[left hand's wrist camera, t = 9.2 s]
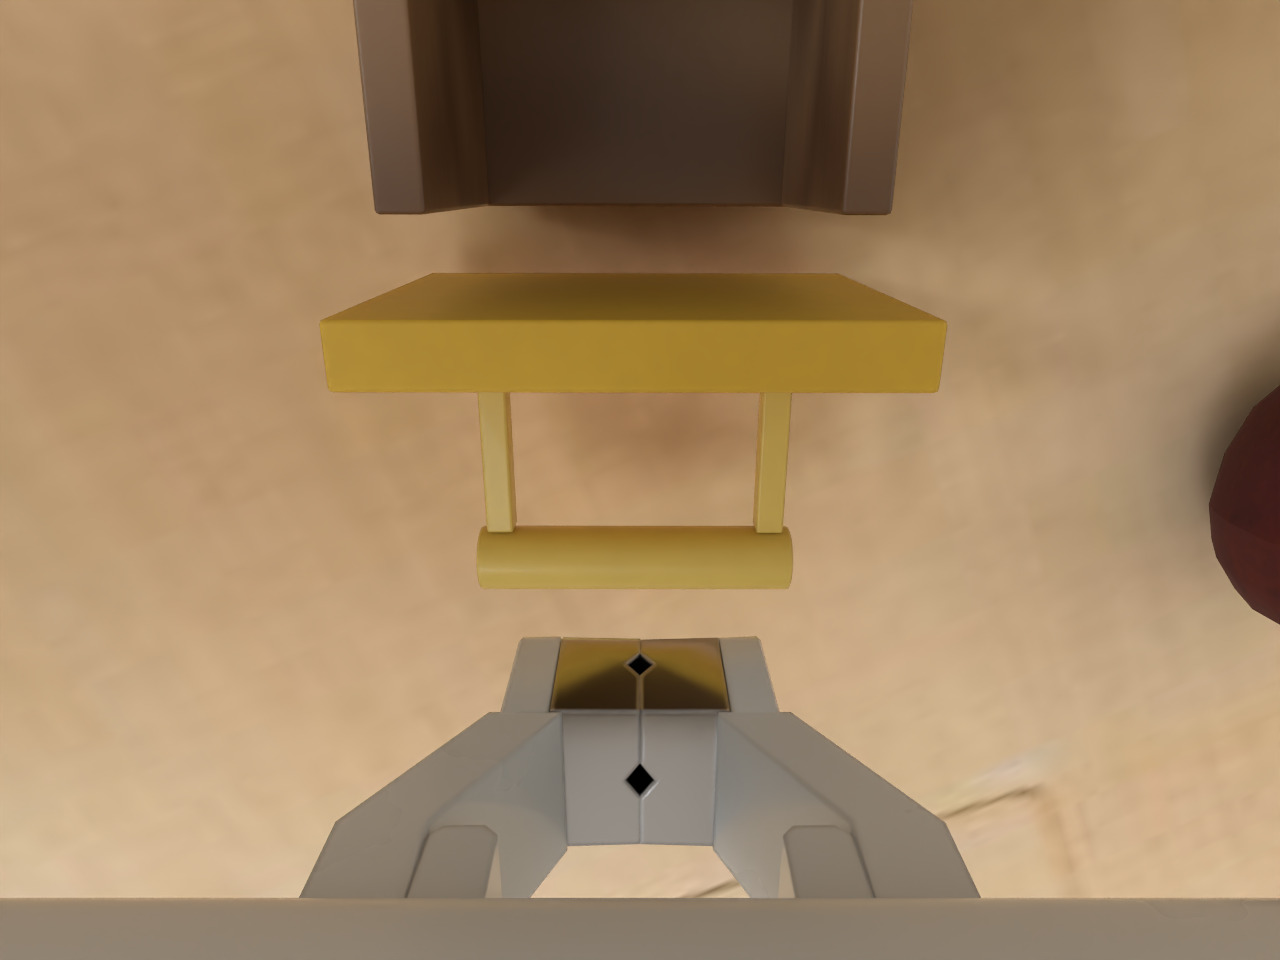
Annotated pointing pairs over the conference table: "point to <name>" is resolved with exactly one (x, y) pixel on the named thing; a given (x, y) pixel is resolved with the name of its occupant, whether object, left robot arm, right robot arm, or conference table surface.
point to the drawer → (633, 176)
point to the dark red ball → (1251, 509)
